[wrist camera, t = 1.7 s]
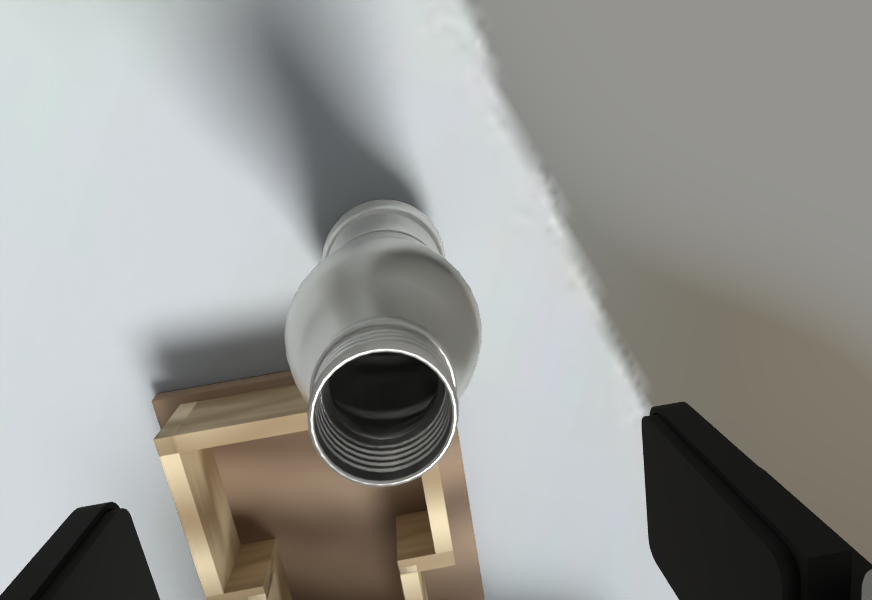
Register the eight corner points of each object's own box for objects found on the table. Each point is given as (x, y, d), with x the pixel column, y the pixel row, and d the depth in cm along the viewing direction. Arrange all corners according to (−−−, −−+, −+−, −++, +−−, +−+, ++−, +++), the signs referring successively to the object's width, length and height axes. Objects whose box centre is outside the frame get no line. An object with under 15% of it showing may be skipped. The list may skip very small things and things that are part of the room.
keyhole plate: (158, 393, 34) (120, 435, 29) (443, 343, 34) (452, 377, 30) (242, 656, 39) (222, 728, 35) (485, 609, 40) (498, 673, 35)
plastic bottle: (315, 296, 33) (219, 519, 14) (340, 180, 31) (272, 249, 12) (424, 321, 34) (475, 561, 15) (454, 209, 32) (556, 316, 13)
